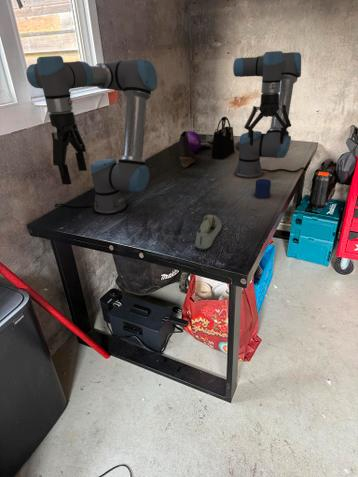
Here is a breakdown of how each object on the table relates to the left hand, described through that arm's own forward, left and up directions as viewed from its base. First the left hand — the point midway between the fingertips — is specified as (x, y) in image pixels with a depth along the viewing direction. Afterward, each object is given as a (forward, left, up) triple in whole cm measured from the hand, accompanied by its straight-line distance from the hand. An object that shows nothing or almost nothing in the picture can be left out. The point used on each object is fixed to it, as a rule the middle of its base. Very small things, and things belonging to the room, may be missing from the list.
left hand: (75, 177), depth 114 cm
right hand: (+69, +51, -3) cm, 86 cm away
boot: (+27, +106, -28) cm, 113 cm away
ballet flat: (+45, +10, -28) cm, 54 cm away
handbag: (+49, +122, -28) cm, 134 cm away
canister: (+69, +52, -28) cm, 91 cm away
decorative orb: (+26, +128, -28) cm, 134 cm away
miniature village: (+73, +143, -28) cm, 163 cm away
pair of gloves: (+38, +152, -28) cm, 159 cm away
